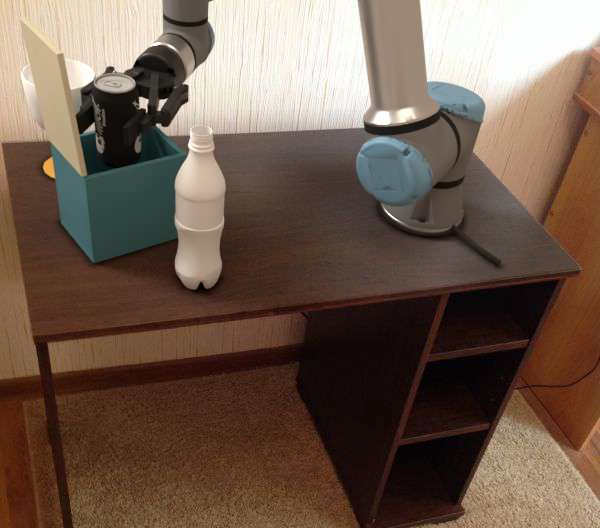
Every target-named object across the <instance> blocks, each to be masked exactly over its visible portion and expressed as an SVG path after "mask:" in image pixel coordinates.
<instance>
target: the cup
mask: <svg viewBox="0 0 600 528" xmlns="http://www.w3.org/2000/svg"><path fill="white" fill-rule="evenodd" d="M64 59H65V65H66V70H67V75H68V80H69V85H70V90H71V95H72V100H73V105H74V110H75V115H76V114H77V113H78V112H79V111H80V106H81V105H82V102H81V92H80V90H81V89H82V88H83V87H85V86H86V85H87V84H89V83H90V82H92V81H93V80H94V79H95V78H96V77H97V75H96V73H95V70H94V69H93V67H91V66H89V65H88V64H86V63H85V62H82V61H78V60H75V59H70V58H64ZM20 78H21V83H22V88H23V91H24V95H25V99H26V103H27V106H28V109H29V111H30V113H31V115H32V117H33V120H34V121H35V123H36V124H37V125H38V126H39V127H40V129H42V130H43V131H45V128H44V123H43V119H42V115H41V110H40V106H39V102H38V98H37V93H36V89H35V85H34V80H33V76H32V72H31V68H30V63H28V64H27V65H25V66H24V67H23V69H22V70H21V73H20ZM42 168H43V171H44V174H45V175H47V176H48V177H50V178H51V179H54V180H55V173H54V166H53V159H52V156H51V157H49V158H48V159H47V160H45V161H44V163H43V165H42Z"/></svg>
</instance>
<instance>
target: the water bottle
mask: <svg viewBox="0 0 600 528" xmlns="http://www.w3.org/2000/svg"><path fill="white" fill-rule="evenodd" d="M189 134H190V135H189V136H190V138H189V139H188V144H187V148H188V149H189V150H188V154H187V158H186V160H185V161H184V163H183V164H182V166H181V168H180V170H179V171H178V174H177V176H176V179H175V195H176V213H175V226H176V228H177V232H178V238H177V239H178V243H177V250H176V253H175V258H174V269H175V274H176V275H177V277H178V279H180V282H181V283H182V284H183V286H184V287H185V288H187V289H189V290H197V289H198V287H199V285H200V283H202V285H203V288H205V289H206V290H209V289H211V288H212V287H214V286H215V285H216V284H217V282H218V280H219V278H220V276H221V273H222V268H223V260H222V258H221V249H220V245H221V237H222V233H223V230H224V226H225V216H224V215H225V197H226V196H225V195H226V191H227V185H226V179H225V177H224V174H223V172H222V170H221V168H220V166H219V164H218V162H217V161H216V158H215V156H214V150H215V148H216V146H215V144H214V130H213V129H212V127H210V126H207V125H204V124H197V125H194V126H192V127H191V128H190V130H189Z"/></svg>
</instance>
